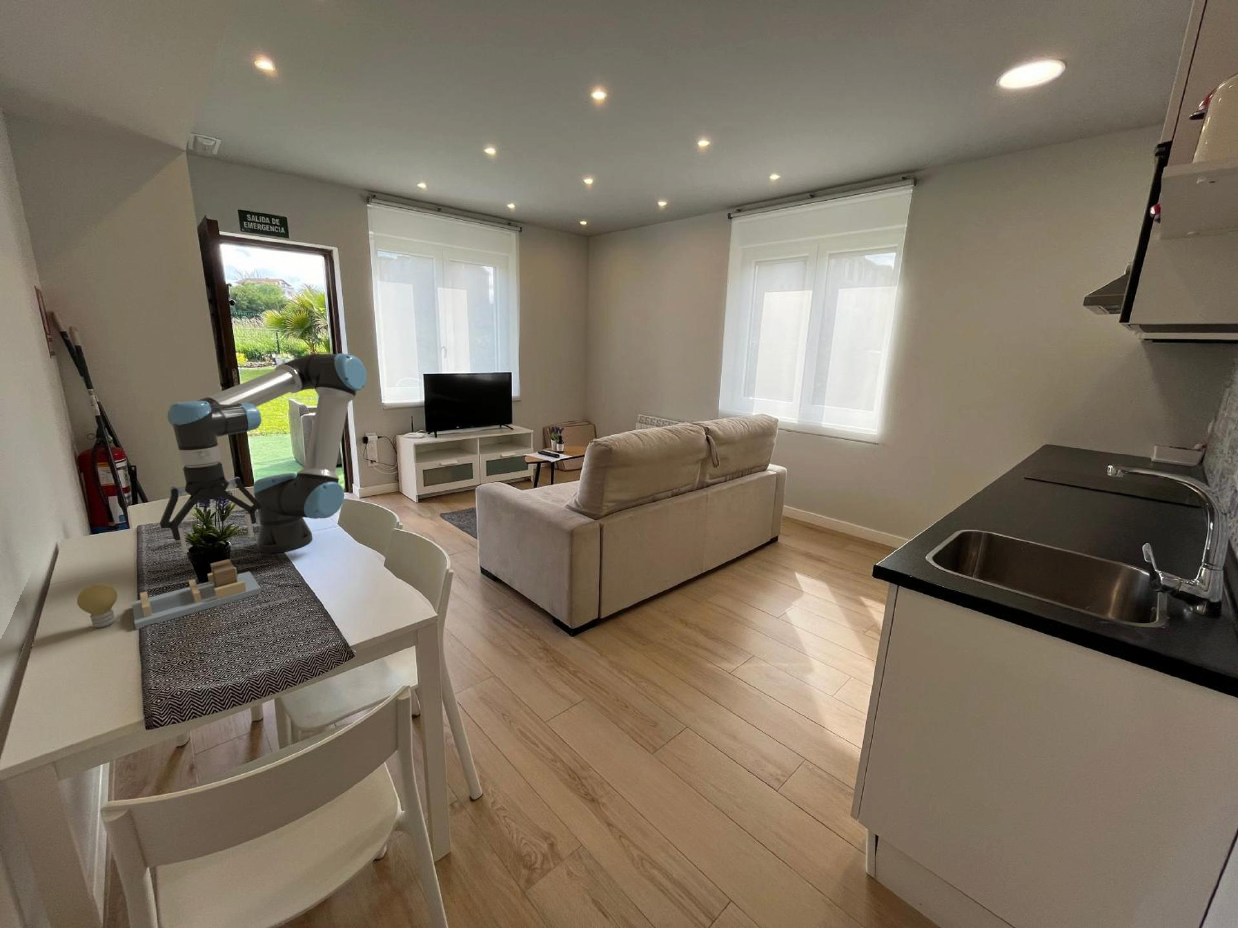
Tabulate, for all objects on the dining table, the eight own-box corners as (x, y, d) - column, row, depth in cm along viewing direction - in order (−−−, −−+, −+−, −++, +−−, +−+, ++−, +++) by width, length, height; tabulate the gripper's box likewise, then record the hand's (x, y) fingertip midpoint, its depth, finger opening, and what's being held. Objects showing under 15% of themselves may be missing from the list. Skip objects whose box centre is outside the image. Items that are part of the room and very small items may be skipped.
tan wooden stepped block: (214, 584, 131) (210, 563, 130) (233, 579, 134) (229, 559, 132) (219, 594, 126) (215, 573, 124) (238, 589, 128) (234, 568, 127)
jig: (133, 607, 123) (129, 592, 122) (250, 576, 139) (248, 563, 138) (136, 629, 113) (132, 613, 112) (261, 592, 130) (258, 579, 129)
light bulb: (85, 635, 111) (73, 595, 108) (84, 625, 115) (73, 586, 112) (124, 624, 115) (114, 585, 113) (122, 614, 119) (113, 576, 117)
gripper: (133, 476, 111) (155, 562, 116) (265, 457, 128) (279, 533, 133) (132, 470, 116) (153, 553, 121) (259, 453, 133) (273, 526, 139)
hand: (219, 543), depth 127 cm, fingers open, 13 cm apart
